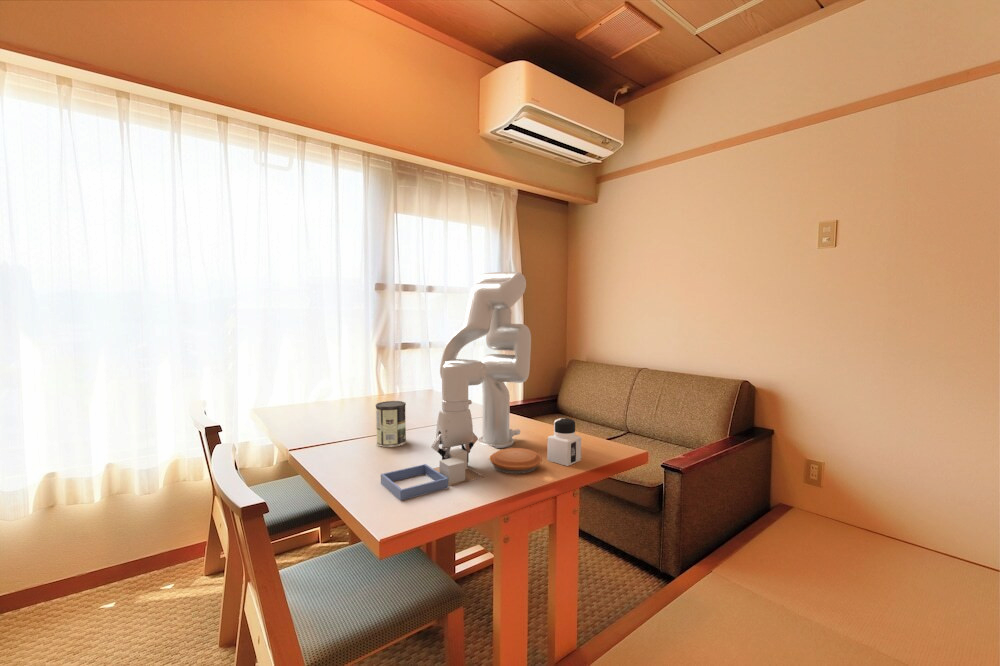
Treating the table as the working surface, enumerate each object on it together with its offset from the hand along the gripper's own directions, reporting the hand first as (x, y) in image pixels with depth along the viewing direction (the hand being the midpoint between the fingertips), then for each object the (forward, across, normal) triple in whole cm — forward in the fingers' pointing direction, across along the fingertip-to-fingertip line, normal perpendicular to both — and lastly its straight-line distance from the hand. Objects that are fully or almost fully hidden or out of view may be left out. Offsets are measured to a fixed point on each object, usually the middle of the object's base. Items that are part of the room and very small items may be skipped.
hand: (455, 467), depth 124 cm
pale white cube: (0, +5, +7) cm, 9 cm away
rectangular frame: (+1, +15, +4) cm, 16 cm away
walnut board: (+1, +2, +4) cm, 5 cm away
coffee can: (+2, +4, -38) cm, 38 cm away
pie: (+2, -16, +8) cm, 18 cm away
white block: (0, 0, 0) cm, 0 cm away
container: (+2, -32, +12) cm, 35 cm away
